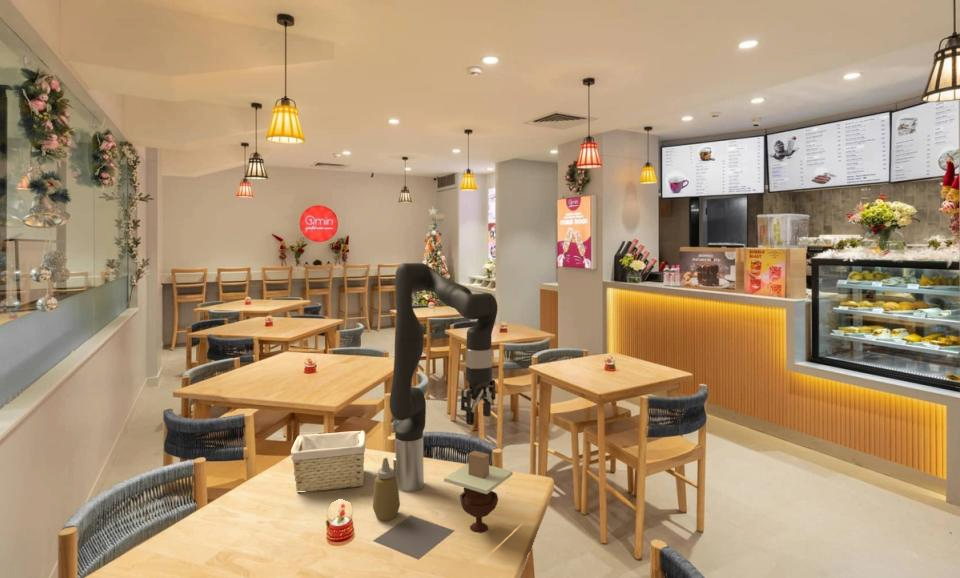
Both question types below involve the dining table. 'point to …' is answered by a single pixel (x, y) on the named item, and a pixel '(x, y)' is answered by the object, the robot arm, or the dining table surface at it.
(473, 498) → the ice cream bowl
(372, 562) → the dining table surface
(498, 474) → the cover
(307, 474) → the storage basket
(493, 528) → the dining table surface
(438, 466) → the dining table surface
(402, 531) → the mat
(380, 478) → the squeeze bottle
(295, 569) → the dining table surface
